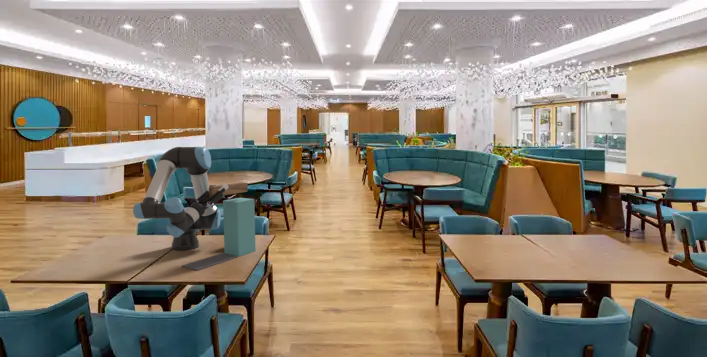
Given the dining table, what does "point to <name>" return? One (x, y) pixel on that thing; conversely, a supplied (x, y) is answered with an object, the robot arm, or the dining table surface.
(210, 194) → the walnut rail
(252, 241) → the teal pedestal
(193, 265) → the charcoal mat
